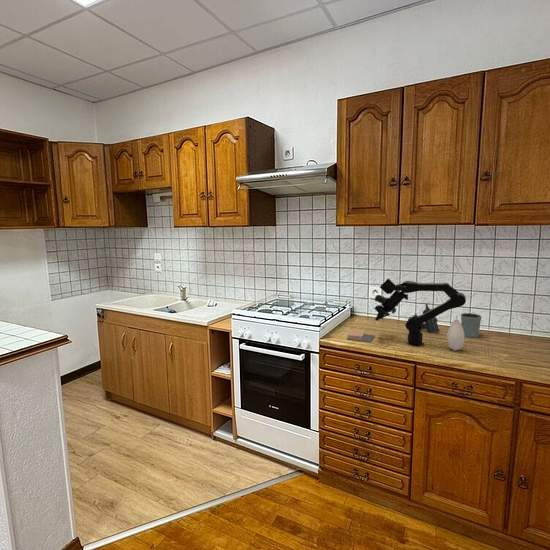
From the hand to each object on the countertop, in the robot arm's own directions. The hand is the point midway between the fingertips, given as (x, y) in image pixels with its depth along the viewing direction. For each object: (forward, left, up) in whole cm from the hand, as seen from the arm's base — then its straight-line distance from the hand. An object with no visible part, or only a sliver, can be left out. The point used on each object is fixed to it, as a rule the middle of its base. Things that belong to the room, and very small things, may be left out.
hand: (375, 320), depth 194 cm
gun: (-9, -34, -11) cm, 37 cm away
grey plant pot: (-29, -46, -11) cm, 55 cm away
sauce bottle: (-36, -17, -11) cm, 41 cm away
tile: (+4, +5, -9) cm, 11 cm away
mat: (+5, +6, -11) cm, 13 cm away
